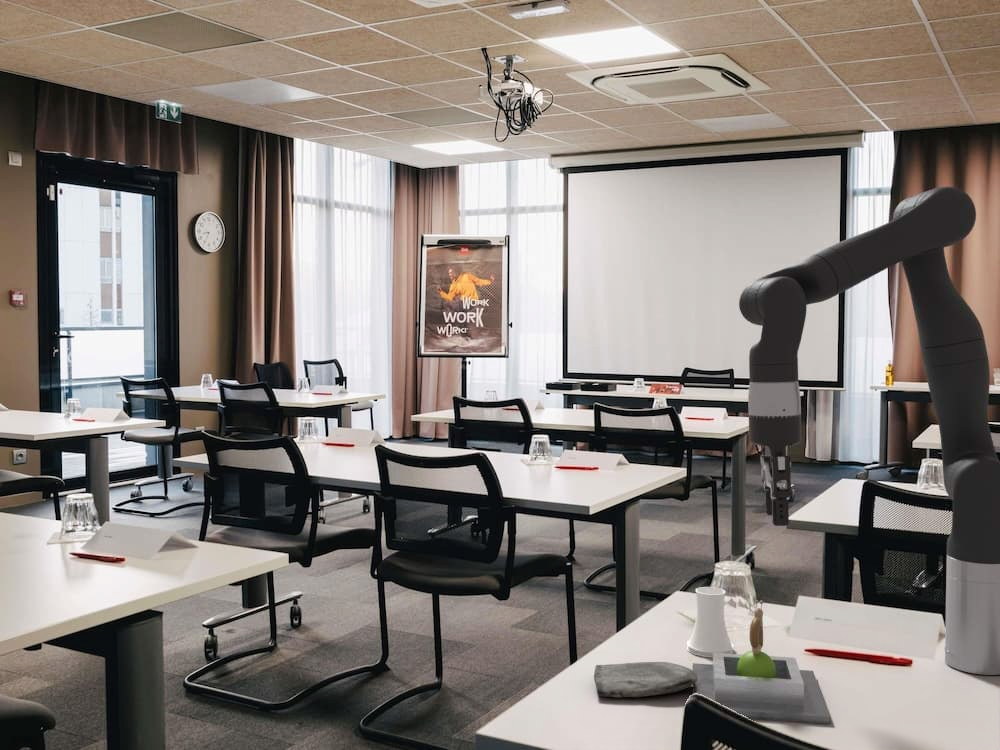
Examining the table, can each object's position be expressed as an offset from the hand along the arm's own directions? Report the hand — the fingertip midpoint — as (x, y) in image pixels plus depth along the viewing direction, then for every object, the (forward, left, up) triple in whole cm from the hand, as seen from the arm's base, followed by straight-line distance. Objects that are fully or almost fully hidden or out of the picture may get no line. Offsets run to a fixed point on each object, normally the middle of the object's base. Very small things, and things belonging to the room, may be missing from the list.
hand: (776, 519), depth 143 cm
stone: (+19, +7, -25) cm, 32 cm away
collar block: (+3, +6, -25) cm, 26 cm away
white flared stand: (+9, -13, -25) cm, 29 cm away
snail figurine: (+3, +6, -24) cm, 25 cm away
